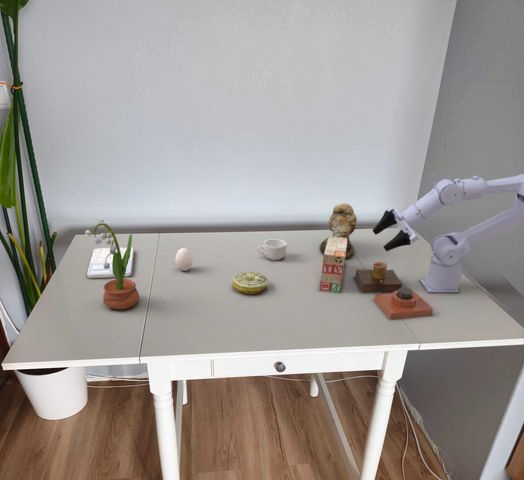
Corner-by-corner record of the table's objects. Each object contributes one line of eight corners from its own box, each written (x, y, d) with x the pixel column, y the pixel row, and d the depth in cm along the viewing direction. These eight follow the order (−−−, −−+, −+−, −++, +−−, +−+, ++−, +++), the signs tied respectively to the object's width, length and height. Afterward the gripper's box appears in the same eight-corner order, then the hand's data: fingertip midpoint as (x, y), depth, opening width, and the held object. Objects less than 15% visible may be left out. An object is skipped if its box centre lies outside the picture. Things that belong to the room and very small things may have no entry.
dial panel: (391, 278, 162) (392, 269, 160) (400, 292, 154) (401, 283, 152) (354, 277, 161) (356, 269, 159) (361, 292, 153) (363, 283, 151)
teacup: (282, 252, 176) (283, 237, 173) (288, 261, 170) (289, 246, 167) (255, 254, 174) (255, 239, 171) (259, 263, 168) (260, 248, 165)
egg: (184, 275, 159) (183, 253, 154) (172, 270, 161) (171, 248, 157) (196, 269, 162) (195, 247, 158) (184, 265, 165) (183, 243, 161)
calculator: (134, 251, 173) (133, 246, 172) (131, 277, 156) (130, 271, 155) (94, 252, 171) (93, 247, 170) (87, 279, 154) (86, 273, 153)
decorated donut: (274, 289, 153) (275, 278, 151) (248, 299, 147) (248, 288, 145) (252, 276, 159) (253, 266, 157) (226, 286, 153) (226, 275, 151)
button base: (413, 296, 152) (416, 285, 149) (431, 315, 143) (434, 303, 141) (373, 300, 149) (376, 288, 147) (389, 319, 140) (392, 307, 138)
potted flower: (101, 316, 136) (86, 230, 122) (93, 300, 144) (79, 216, 130) (144, 307, 141) (134, 223, 127) (134, 292, 148) (124, 210, 135)
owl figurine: (317, 239, 187) (322, 194, 177) (348, 240, 187) (354, 195, 178) (323, 260, 172) (328, 212, 162) (357, 261, 172) (364, 213, 163)
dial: (383, 273, 157) (385, 261, 155) (386, 279, 154) (388, 266, 152) (370, 273, 157) (372, 261, 155) (373, 279, 154) (375, 266, 151)
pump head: (407, 293, 146) (408, 286, 145) (413, 299, 143) (415, 293, 142) (395, 294, 145) (396, 288, 144) (401, 300, 142) (402, 294, 141)
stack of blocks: (326, 261, 171) (330, 227, 164) (344, 263, 170) (349, 229, 163) (319, 290, 153) (323, 253, 146) (340, 293, 152) (345, 255, 145)
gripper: (402, 189, 145) (363, 218, 150) (426, 220, 137) (384, 250, 141) (411, 202, 150) (373, 230, 155) (434, 233, 142) (393, 261, 146)
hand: (379, 240), depth 148 cm, fingers open, 7 cm apart
